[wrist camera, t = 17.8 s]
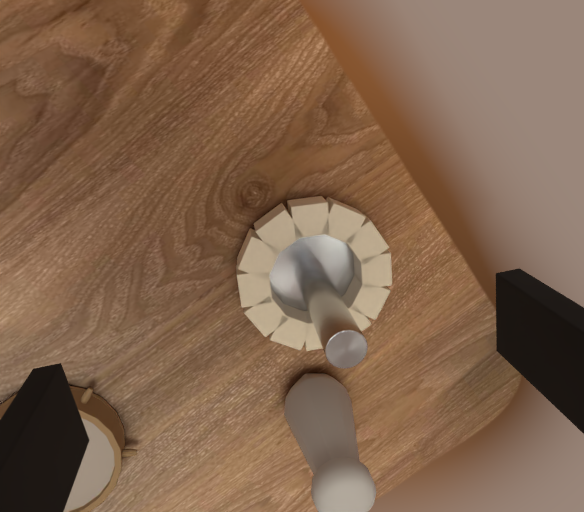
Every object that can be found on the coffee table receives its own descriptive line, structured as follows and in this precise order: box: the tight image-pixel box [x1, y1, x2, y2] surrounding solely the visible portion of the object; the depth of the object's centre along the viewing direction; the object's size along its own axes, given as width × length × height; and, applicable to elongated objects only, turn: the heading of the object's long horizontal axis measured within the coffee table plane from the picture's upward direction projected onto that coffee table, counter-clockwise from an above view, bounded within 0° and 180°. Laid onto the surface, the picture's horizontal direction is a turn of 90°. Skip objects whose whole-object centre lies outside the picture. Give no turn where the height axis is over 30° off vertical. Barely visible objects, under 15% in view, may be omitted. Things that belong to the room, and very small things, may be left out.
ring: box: [236, 196, 392, 351], centre depth 38 cm, size 12×12×2 cm
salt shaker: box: [284, 373, 376, 512], centre depth 38 cm, size 6×6×13 cm
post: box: [251, 228, 367, 368], centre depth 34 cm, size 8×8×14 cm
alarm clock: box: [0, 386, 137, 512], centre depth 40 cm, size 11×5×15 cm
